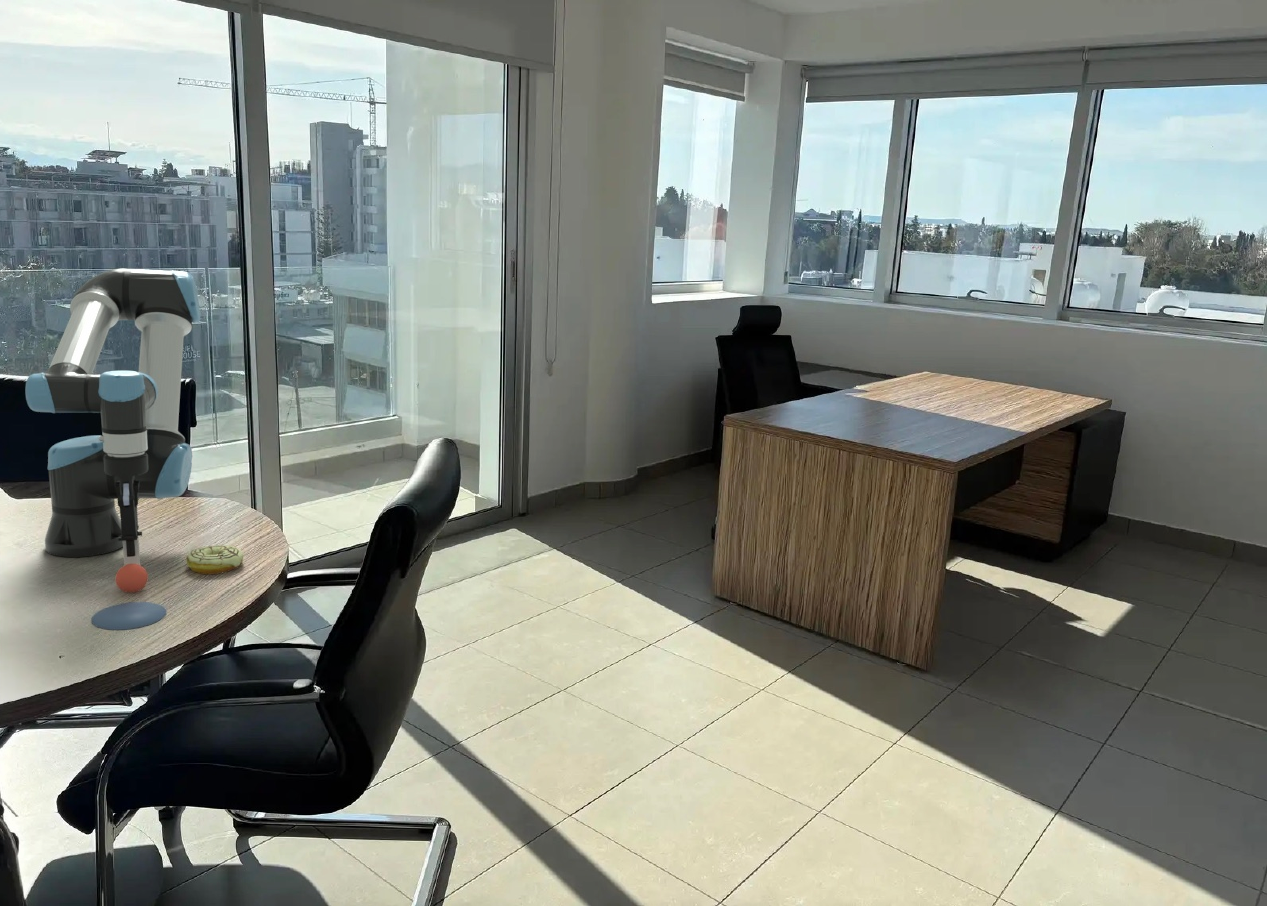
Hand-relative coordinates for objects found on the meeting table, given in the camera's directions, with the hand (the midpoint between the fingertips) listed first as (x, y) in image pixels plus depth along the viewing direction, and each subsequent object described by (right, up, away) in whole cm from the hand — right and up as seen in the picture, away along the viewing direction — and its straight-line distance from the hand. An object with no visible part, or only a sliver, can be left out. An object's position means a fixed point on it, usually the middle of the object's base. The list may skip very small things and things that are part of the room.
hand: (132, 570), depth 190 cm
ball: (+2, -1, -5) cm, 5 cm away
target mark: (+7, -7, -15) cm, 18 cm away
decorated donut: (+12, -1, +11) cm, 16 cm away
